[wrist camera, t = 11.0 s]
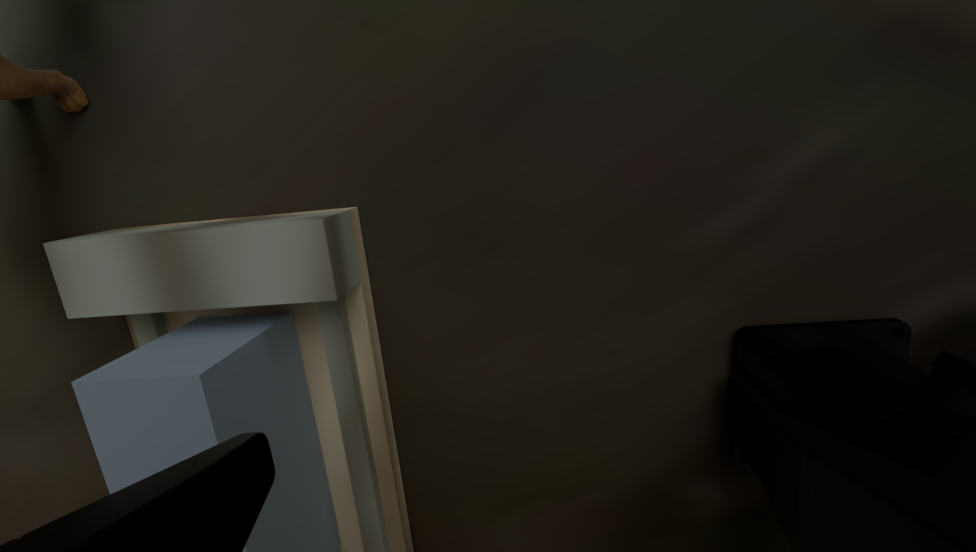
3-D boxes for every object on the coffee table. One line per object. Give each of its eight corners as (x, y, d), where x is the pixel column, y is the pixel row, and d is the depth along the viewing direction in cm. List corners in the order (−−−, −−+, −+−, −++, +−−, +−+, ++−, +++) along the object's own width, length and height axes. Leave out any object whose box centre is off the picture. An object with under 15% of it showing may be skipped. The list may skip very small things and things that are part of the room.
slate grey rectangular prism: (292, 311, 21) (199, 375, 15) (348, 575, 24) (290, 710, 18) (197, 317, 21) (71, 382, 15) (265, 576, 25) (183, 707, 19)
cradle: (357, 206, 20) (322, 218, 17) (427, 633, 26) (411, 705, 23) (119, 228, 21) (42, 243, 18) (236, 631, 27) (194, 699, 24)
